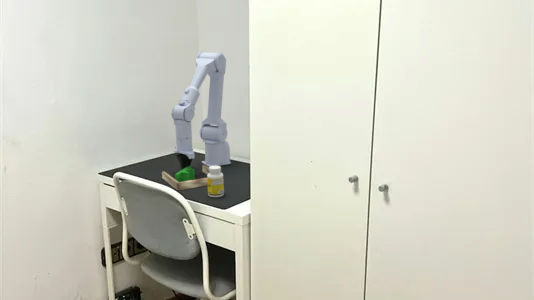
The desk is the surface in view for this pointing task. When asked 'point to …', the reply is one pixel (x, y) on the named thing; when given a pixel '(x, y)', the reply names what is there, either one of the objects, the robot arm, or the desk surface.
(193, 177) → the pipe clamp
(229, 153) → the robot arm
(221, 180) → the supplement bottle
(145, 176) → the desk surface
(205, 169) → the birch bay
